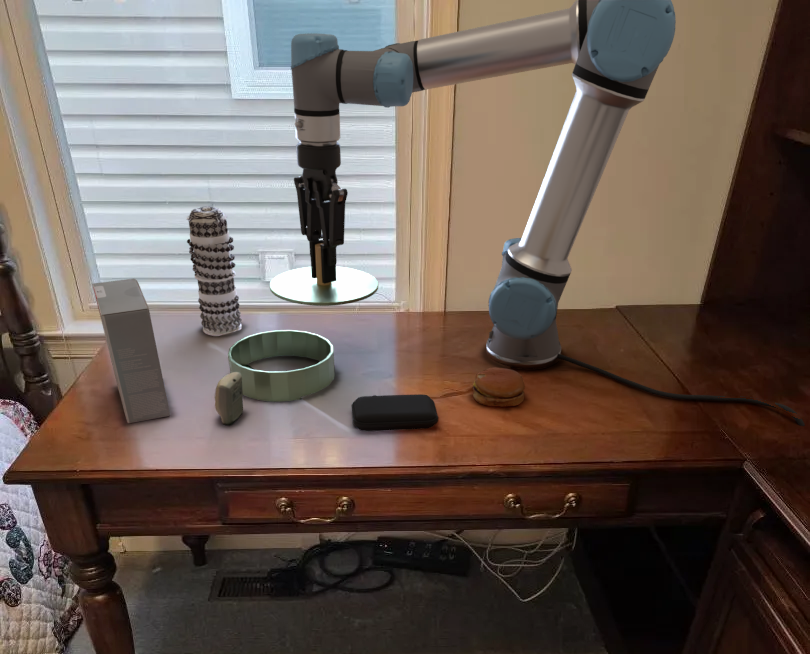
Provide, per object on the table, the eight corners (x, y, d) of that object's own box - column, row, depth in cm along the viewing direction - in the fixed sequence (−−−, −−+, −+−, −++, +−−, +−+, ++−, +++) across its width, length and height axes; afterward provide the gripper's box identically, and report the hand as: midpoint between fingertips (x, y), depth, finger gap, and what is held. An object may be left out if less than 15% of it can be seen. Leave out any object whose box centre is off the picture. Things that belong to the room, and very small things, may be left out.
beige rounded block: (249, 425, 130) (244, 383, 125) (218, 429, 129) (212, 386, 124) (245, 410, 135) (240, 368, 130) (215, 413, 133) (209, 372, 129)
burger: (532, 405, 137) (535, 381, 134) (485, 412, 135) (487, 388, 132) (509, 382, 145) (511, 359, 142) (464, 389, 142) (465, 366, 140)
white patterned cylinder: (239, 337, 161) (224, 215, 147) (196, 336, 161) (177, 214, 147) (247, 321, 169) (233, 203, 154) (206, 320, 169) (188, 203, 154)
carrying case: (432, 403, 137) (351, 405, 136) (432, 387, 136) (350, 390, 135) (439, 431, 129) (353, 435, 128) (440, 416, 127) (352, 419, 126)
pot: (355, 381, 145) (354, 353, 141) (267, 412, 134) (264, 382, 131) (297, 349, 157) (295, 322, 153) (213, 375, 146) (209, 347, 143)
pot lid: (400, 293, 142) (401, 249, 137) (309, 317, 131) (307, 270, 126) (337, 265, 154) (335, 224, 150) (249, 285, 144) (245, 241, 139)
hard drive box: (116, 387, 141) (91, 282, 130) (158, 380, 144) (137, 276, 132) (126, 424, 130) (100, 313, 118) (171, 416, 132) (150, 306, 121)
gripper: (274, 136, 131) (284, 271, 144) (326, 151, 121) (332, 295, 135) (310, 132, 135) (316, 264, 148) (364, 146, 125) (365, 286, 139)
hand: (323, 278), depth 141 cm, fingers closed on pot lid, 3 cm apart
